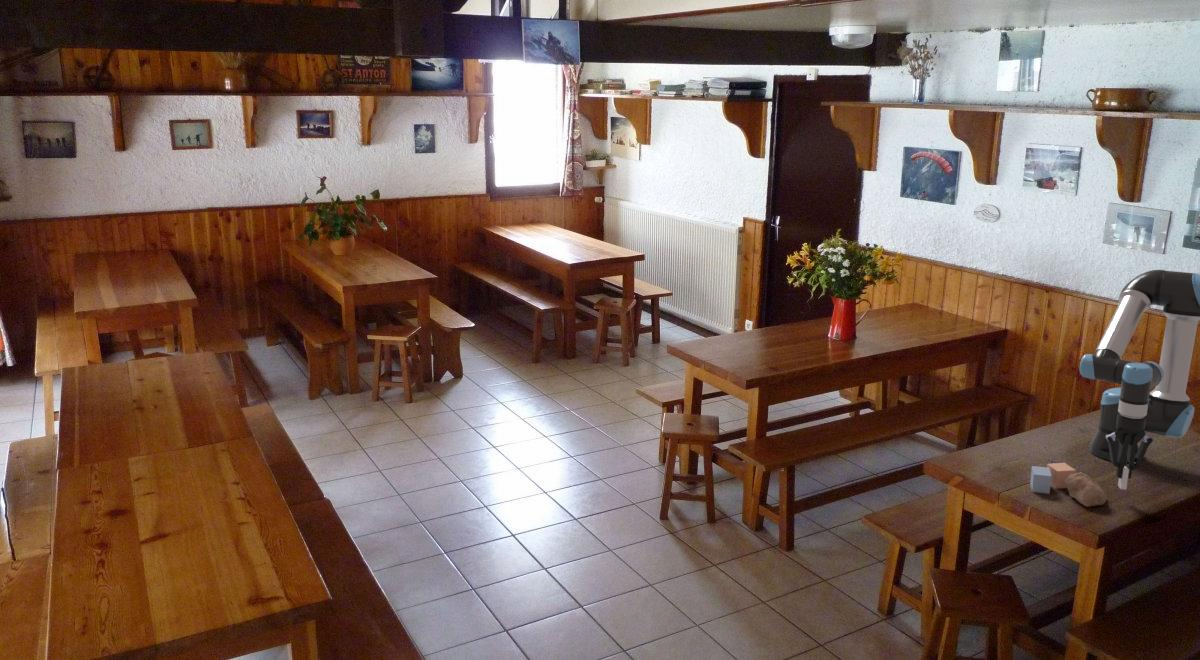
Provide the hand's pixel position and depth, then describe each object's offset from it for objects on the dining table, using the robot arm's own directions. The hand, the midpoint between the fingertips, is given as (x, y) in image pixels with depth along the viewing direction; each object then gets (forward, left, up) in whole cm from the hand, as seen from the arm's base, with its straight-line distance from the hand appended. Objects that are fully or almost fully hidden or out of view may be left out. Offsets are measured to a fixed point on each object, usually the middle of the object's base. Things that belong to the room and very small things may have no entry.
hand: (1122, 487), depth 283 cm
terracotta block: (+14, -11, -5) cm, 19 cm away
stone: (+9, 0, -5) cm, 11 cm away
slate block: (+21, -7, -5) cm, 23 cm away
